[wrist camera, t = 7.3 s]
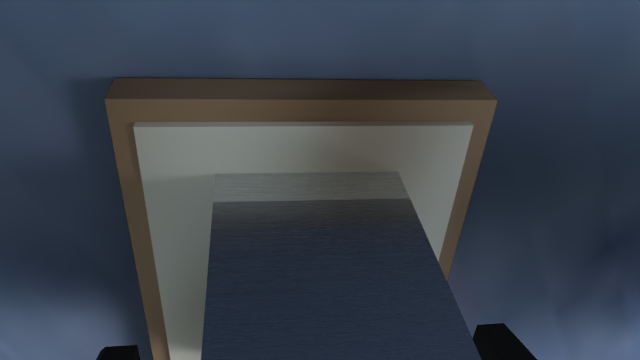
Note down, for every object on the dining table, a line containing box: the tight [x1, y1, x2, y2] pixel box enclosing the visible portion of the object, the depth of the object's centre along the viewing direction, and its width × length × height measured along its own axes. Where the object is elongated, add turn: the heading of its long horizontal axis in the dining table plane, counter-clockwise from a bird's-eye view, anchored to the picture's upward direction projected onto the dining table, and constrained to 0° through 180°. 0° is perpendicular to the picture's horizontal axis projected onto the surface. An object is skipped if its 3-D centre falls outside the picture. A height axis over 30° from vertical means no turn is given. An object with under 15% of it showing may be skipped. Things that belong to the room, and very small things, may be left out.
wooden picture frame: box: [104, 78, 498, 360], centre depth 14 cm, size 8×10×1 cm
